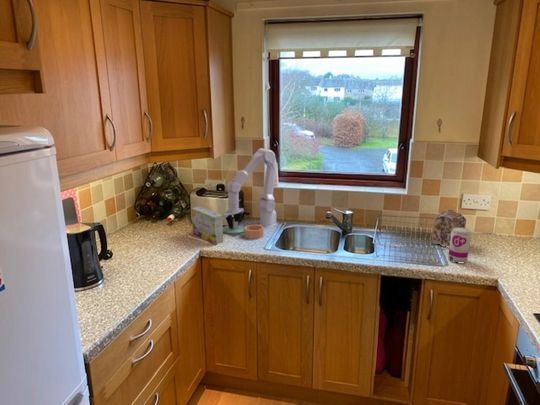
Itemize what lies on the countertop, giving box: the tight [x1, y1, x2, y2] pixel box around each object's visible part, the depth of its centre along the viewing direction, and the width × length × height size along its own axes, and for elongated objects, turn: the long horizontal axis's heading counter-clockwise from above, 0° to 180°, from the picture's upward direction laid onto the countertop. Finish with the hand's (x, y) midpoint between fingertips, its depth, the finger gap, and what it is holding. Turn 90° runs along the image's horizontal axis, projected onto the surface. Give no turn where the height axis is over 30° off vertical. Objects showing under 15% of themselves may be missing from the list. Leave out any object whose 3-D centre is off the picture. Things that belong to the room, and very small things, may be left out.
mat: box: [223, 232, 244, 238], centre depth 229 cm, size 16×15×1 cm
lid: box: [223, 220, 245, 234], centre depth 228 cm, size 13×13×5 cm
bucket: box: [243, 224, 265, 240], centre depth 220 cm, size 10×10×5 cm
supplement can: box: [447, 227, 472, 263], centre depth 190 cm, size 8×8×15 cm
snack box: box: [191, 206, 224, 246], centre depth 214 cm, size 21×6×15 cm, turn 42°
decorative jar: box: [431, 209, 467, 246], centre depth 211 cm, size 12×12×18 cm
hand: (233, 227), depth 228 cm, fingers open, 4 cm apart
